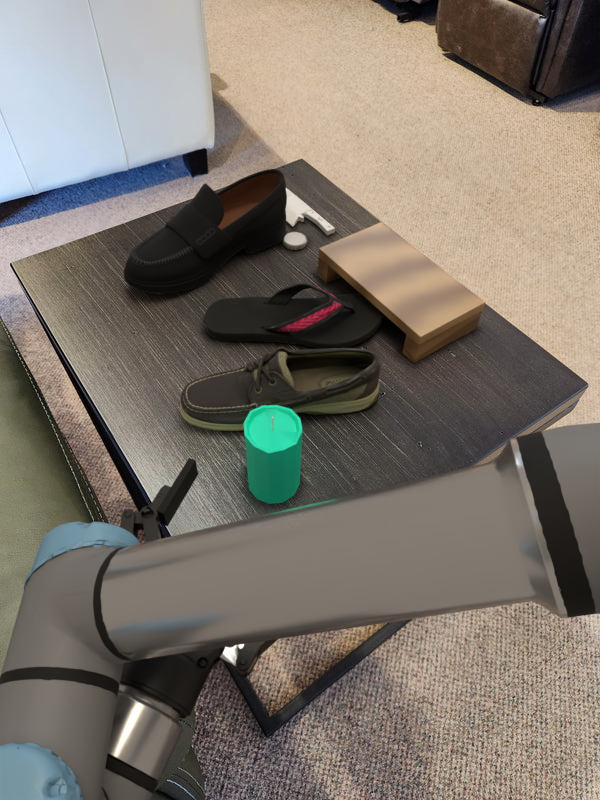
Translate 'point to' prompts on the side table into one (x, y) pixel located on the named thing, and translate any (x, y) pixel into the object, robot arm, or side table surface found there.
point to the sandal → (295, 319)
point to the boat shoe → (284, 386)
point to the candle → (273, 452)
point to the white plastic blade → (304, 213)
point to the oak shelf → (403, 287)
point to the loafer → (210, 234)
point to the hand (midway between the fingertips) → (253, 487)
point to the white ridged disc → (295, 240)
